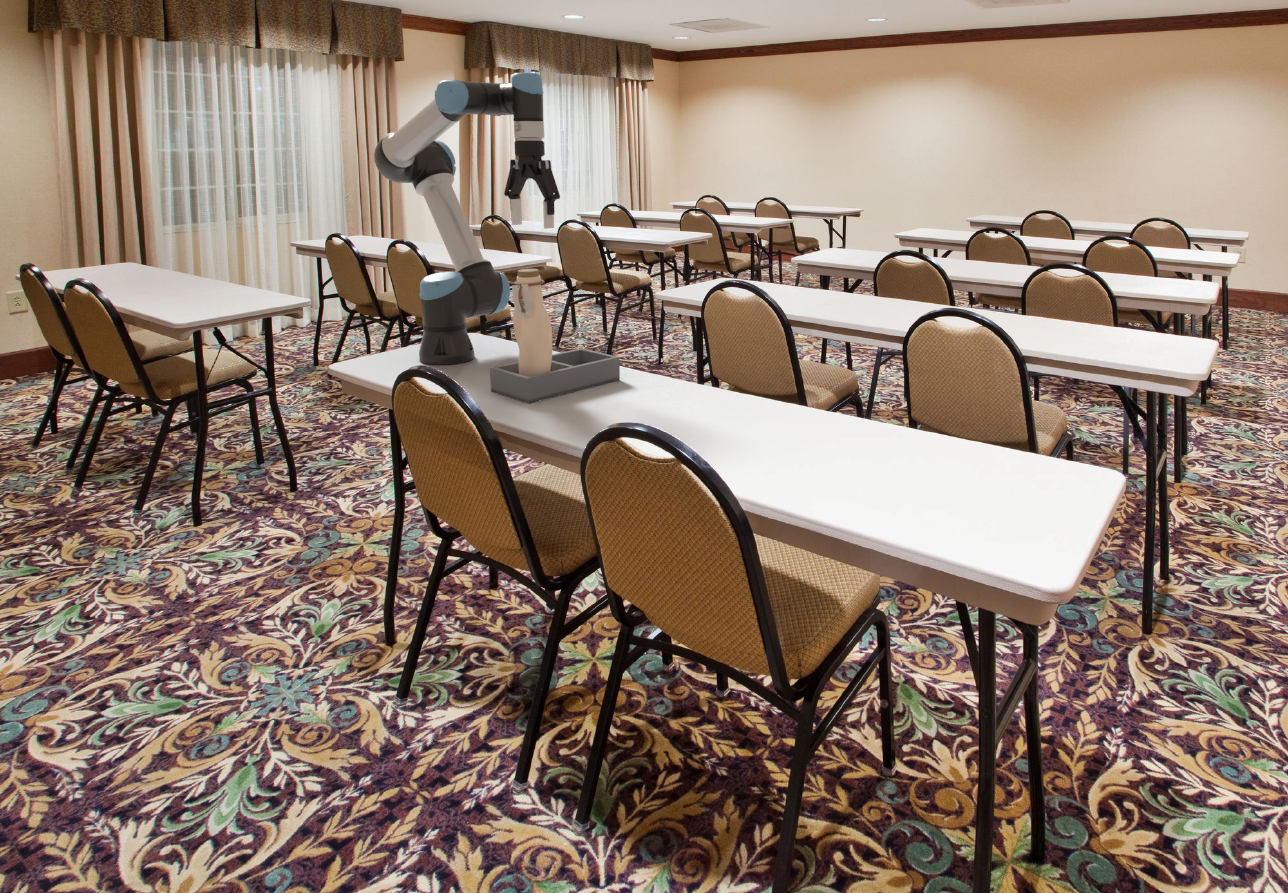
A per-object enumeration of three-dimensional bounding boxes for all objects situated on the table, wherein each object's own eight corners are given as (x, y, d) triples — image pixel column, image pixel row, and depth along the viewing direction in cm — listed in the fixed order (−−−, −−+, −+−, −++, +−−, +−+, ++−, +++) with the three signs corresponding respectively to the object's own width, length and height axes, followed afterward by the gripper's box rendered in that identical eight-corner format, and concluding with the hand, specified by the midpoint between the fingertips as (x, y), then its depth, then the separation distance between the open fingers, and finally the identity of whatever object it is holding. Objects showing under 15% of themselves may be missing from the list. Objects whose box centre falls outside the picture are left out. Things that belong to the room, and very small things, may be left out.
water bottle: (551, 392, 201) (543, 273, 191) (513, 393, 201) (504, 274, 192) (557, 381, 210) (550, 267, 201) (522, 381, 211) (513, 267, 201)
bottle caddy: (491, 391, 206) (489, 367, 204) (582, 370, 226) (581, 348, 224) (528, 403, 196) (527, 378, 194) (619, 380, 216) (619, 357, 214)
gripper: (488, 139, 219) (492, 223, 227) (548, 139, 203) (551, 230, 210) (511, 139, 224) (515, 222, 232) (572, 139, 208) (574, 228, 215)
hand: (532, 226), depth 221 cm, fingers open, 13 cm apart
